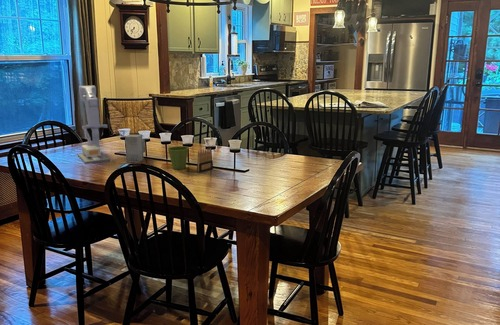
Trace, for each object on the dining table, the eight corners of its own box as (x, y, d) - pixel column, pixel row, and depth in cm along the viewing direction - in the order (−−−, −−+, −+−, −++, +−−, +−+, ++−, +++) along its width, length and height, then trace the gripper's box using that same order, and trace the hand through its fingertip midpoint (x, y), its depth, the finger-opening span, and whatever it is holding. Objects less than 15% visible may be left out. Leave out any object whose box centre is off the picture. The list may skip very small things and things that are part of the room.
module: (85, 155, 276) (85, 148, 275) (99, 154, 280) (98, 147, 279) (87, 157, 272) (86, 150, 271) (100, 155, 276) (100, 148, 275)
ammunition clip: (199, 173, 240) (198, 150, 238) (196, 172, 241) (196, 150, 239) (213, 169, 248) (212, 147, 246) (210, 168, 250) (210, 147, 247)
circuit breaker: (146, 157, 280) (145, 132, 277) (138, 162, 266) (137, 136, 263) (134, 156, 281) (133, 132, 277) (126, 161, 267) (124, 136, 264)
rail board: (77, 155, 285) (76, 145, 284) (100, 153, 292) (99, 143, 291) (85, 163, 263) (84, 153, 262) (109, 160, 270) (109, 150, 268)
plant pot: (181, 164, 259) (180, 145, 257) (194, 168, 251) (193, 148, 249) (163, 168, 251) (162, 148, 249) (176, 171, 243) (175, 151, 241)
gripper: (82, 119, 269) (84, 142, 272) (107, 117, 276) (109, 140, 279) (80, 118, 275) (82, 140, 278) (105, 116, 282) (107, 138, 285)
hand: (96, 140), depth 279 cm, fingers open, 4 cm apart
